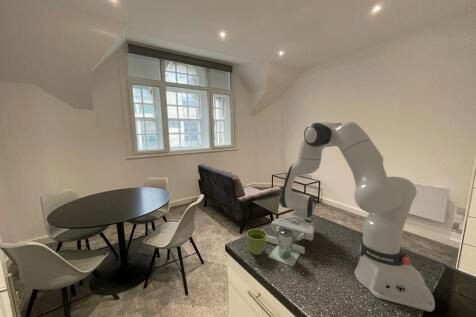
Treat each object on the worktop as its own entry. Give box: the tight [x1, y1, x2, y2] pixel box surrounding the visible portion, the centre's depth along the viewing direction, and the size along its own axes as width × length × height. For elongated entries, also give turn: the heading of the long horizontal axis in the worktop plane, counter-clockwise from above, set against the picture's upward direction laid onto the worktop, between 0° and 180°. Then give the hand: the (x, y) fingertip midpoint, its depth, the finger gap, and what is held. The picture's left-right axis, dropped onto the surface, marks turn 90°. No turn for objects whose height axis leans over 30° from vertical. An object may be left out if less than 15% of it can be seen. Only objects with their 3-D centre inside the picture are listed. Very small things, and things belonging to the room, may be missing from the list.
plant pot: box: [246, 228, 268, 256], centre depth 90 cm, size 9×9×9 cm
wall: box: [265, 234, 306, 255], centre depth 94 cm, size 20×1×3 cm, turn 57°
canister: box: [278, 229, 293, 259], centre depth 87 cm, size 6×6×11 cm
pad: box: [268, 245, 301, 267], centre depth 87 cm, size 11×10×1 cm
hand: (287, 235), depth 89 cm, fingers open, 8 cm apart
